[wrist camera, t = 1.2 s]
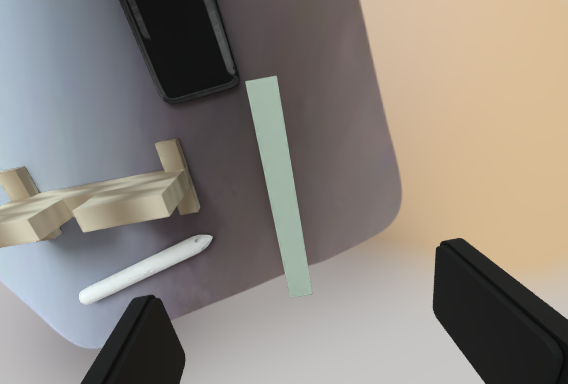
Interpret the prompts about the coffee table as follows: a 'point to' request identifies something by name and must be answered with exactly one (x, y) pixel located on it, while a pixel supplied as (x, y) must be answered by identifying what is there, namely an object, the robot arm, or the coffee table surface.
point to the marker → (144, 268)
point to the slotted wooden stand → (96, 200)
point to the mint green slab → (279, 181)
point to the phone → (183, 46)
